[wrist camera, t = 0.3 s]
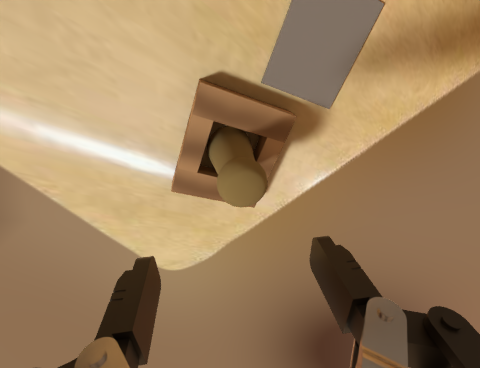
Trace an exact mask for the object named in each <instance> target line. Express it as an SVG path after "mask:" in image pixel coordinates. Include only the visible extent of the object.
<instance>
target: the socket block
mask: <svg viewBox="0 0 480 368" xmlns="http://www.w3.org/2000/svg"><path fill="white" fill-rule="evenodd" d="M296 117H297V116H295V115H294V114H292V113H291V112H290V111H287V110H284V109H282V108H279V107H276V106H273V105H271V104H268V103H265V102H262V101H259V100H257V99H254V98H251V97H248V96H246V95H243V94H240V93H237V92H235V91H232V90H229V89H226V88H223V87H221V86H218V85H215V84H212V83H210V82H207V81H204V80H201V79H199V83H198V87H197V90H196V94H195V98H194V102H193V105H192V109H191V113H190V117H189V121H188V124H187V128H186V132H185V136H184V139H183V143H182V147H181V151H180V155H179V158H178V162H177V166H176V170H175V173H174V177H173V181H172V190H171V192H176V193H182V194H187V195H192V196H197V197H202V198H207V199H212V200H218V201H223V202H225V201H224V200H223V199H222V197H221V196H220V194H219V192H218V189H217V177H218V174H217V172H216V170H215V168H210V167H206V166H202V165H200V163H201V159H202V156H203V153H204V150H205V147H206V143H207V140H208V137H209V134H210V131H211V127H212V124H213V121H215V122H219V123H222V124H225V125H228V126H232V127H235V128H238V129H241V130H245V131H248V132H251V133H254V134H258V135H260V137H259V140H258V142H257V144H256V147H255V149H254V152H253V155H254V159H255V161H256V162H258V163H259V164H260V165H261V166H262V168H263V169H264V170H265V172H266V175H267V179H268V177H269V175H270V173H271V171H272V169H273V167H274V164H275V162H276V160H277V158H278V156H279V154H280V152H281V149H282V147H283V145H284V143H285V141H286V139H287V137H288V135H289V132H290V130H291V128H292V126H293V124H294V122H295V120H296ZM256 203H257V202H256ZM256 203H255V204H253V205H251V206H248V207H255V205H256Z"/></svg>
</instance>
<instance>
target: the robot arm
mask: <svg viewBox="0 0 480 368" xmlns="http://www.w3.org/2000/svg"><path fill="white" fill-rule="evenodd" d="M310 266H311V269H312V272H313V274H314V276H315V278H316V280H317V282H318V284H319V286H320V288H321V290H322V292H323V294H324V296H325V298H326V300H327V302H328V304H329V306H330V309H331V311H332V313H333V315H334V317H335V319H336V321H337V323H338V325H339V327H340V329H341V331H342V333H343V334H344V333H350V332H351V333H352V334H353V336H354V338H355V340H354V345H353V351H352V357H351V363H350V368H408V367H411V368H480V334H479V333H478V332H477V331H476V330H475V329H474V328H473V327H472V326H471V325H470V323H469V322H468V321H467V320H466V319H465V318H463V317H462V316H461V315H460V314H458V313H456V312H455V311H453V310H451V309H448V308H445V307H440V306H438V307H437V306H436V307H432V308H431V309H430V310H429V311H428V313H427V314H425V313H418V312H412V311H407V310H403V309H401V308H400V307H399V306H398V305H397V304H395V303H394V302H393V301H391V300H389V299H386V298H383V297H382V296H381V294H380V293H379V292H378V290H377V289H376V287H375V286H374V285H373V283H372V282H371V281H370V279H369V278H368V276H367V275H366V274H365V272H364V271H363V270H362V269H361V267H360V265H359V264H358V263H357V262H356V260H355V259H354V257H353V256H352V254H351V253H350V252H349V251H348V250H347V249H345V248H344V247H343V246H341V245H335V244H334V242H333V241H332V239H331V238H330V237H329V236H323V237H315V238H313V240H312V246H311V254H310ZM160 290H161V279H160V275H159V271H158V268H157V265H156V261H155V258H154V256H151V257H142V258H137V259H136V261H135V264H134V267H133V270H129V271H125V272H124V273H123V274H122V276H121V277H120V278H119V279H118V281H117V283H116V286H115V288H114V291H113V292H114V293H112V296H111V299H110V302H109V304H108V307H107V309H106V312H105V315H104V317H103V320H102V322H101V325H100V328H99V330H98V333H97V336H96V338H95V340H94V341H93V342H92V343H90V344H89V345H88V346H87V347H86V348H84V350H83V351H82V352H81V353H80V355H79V356H78V358H76V359H75V360H73V361H71V362H69V363H67V364H65V365H62V366H60V367H58V368H138V365H145V364H147V360H148V355H149V350H150V345H151V339H152V334H153V328H154V323H155V318H156V312H157V307H158V301H159V296H160Z"/></svg>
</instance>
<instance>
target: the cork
mask: <svg viewBox="0 0 480 368" xmlns="http://www.w3.org/2000/svg"><path fill="white" fill-rule="evenodd" d="M206 147H207V154H208V156H209V158H210V160H211V162H212V164H213V166H214V168H215V170H216V172H217V174H218V177H217V189H218V192H219V194H220V196H221V197H222V199H223V200H224V201H225V202H226V203H228V204H230V205H232V206H236V207H248V206H251V205H253V204H255V203H256V202H258V201H259V200H260V199H261V198H262V197H263V195H264V194H265V191H266V189H267V182H268V180H267V175H266V172H265V170H264V169H263V168H262V166H261V165H260V164H259V163H258V162H256V161H255V159H254V155H253V150H252V146H251V142H250V139H249V136H248V135H247V134H246V132H245V131H243V130H241V129H238V128H235V127H232V126H224V127H221V128H219V129H217V130H216V131H214V132H213V133H212V134H211V136H210V137H209V139H208V142H207V146H206Z"/></svg>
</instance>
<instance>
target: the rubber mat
mask: <svg viewBox="0 0 480 368" xmlns="http://www.w3.org/2000/svg"><path fill="white" fill-rule="evenodd" d="M383 6H384V3H382V2H380V1H379V0H292V2H291V4H290V7H289V10H288V12H287V15H286V18H285V20H284V23H283V26H282V28H281V31H280V34H279V36H278V39H277V42H276V44H275V47H274V50H273V52H272V55H271V57H270V60H269V63H268V65H267V68H266V71H265V73H264V76H263V79H262V81H261V83H263V84H266V85H269V86H271V87H274V88H276V89H279V90H281V91H284V92H287V93H289V94H292V95H294V96H297V97H299V98H302V99H305V100H307V101H310V102H312V103H315V104H317V105H320V106H323V107H325V108H328V109H330V107H331V105H332V103H333V101H334V99H335V98H336V96H337V94H338V92H339V90H340V88H341V86H342V84H343V82H344V80H345V78H346V76H347V75H348V73H349V71H350V69H351V67H352V65H353V63H354V61H355V59H356V57H357V55H358V54H359V52H360V50H361V48H362V46H363V44H364V42H365V40H366V38H367V36H368V34H369V32H370V31H371V29H372V27H373V25H374V23H375V21H376V19H377V17H378V15H379V13H380V11H381V9H382V8H383Z"/></svg>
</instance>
